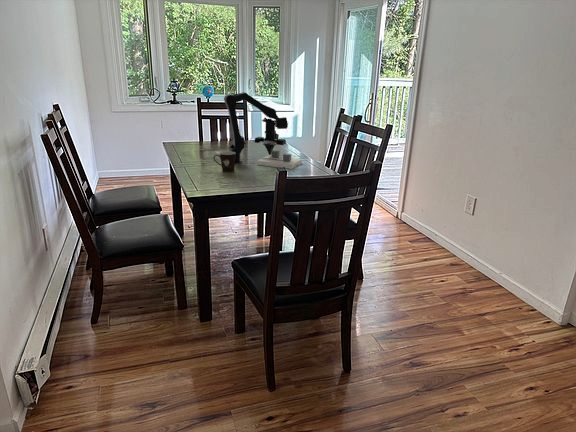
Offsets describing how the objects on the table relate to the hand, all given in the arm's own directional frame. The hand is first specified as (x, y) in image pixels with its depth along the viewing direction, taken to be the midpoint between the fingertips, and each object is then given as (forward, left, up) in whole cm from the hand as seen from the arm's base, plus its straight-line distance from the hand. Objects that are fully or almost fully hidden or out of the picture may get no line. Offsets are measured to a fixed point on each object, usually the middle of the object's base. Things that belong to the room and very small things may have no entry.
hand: (270, 154), depth 263 cm
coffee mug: (-34, +11, -4) cm, 36 cm away
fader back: (0, -4, -1) cm, 4 cm away
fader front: (-6, -14, -1) cm, 15 cm away
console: (-5, -9, -4) cm, 11 cm away
